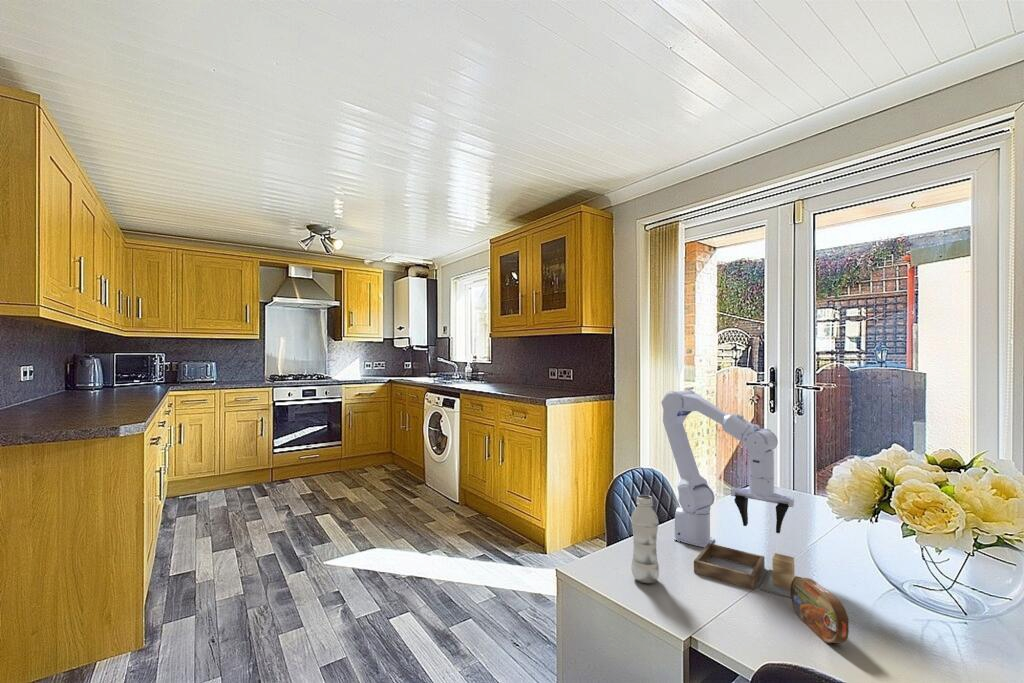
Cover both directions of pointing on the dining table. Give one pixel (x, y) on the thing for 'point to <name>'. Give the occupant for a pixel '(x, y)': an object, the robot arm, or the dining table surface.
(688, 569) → the dining table surface
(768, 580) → the mat
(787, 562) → the oak block
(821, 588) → the tin
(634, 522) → the plastic bottle
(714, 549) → the frame box
